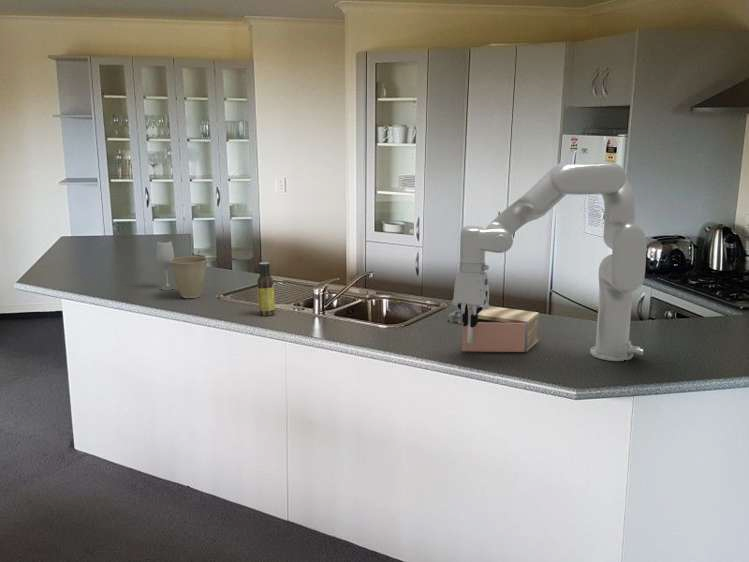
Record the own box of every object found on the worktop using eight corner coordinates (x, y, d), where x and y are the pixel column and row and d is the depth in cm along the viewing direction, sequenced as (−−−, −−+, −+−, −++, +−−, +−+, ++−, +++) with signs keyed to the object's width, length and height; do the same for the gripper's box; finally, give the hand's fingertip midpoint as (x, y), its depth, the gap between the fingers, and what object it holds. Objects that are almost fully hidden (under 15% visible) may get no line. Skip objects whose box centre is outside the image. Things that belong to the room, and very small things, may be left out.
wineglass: (155, 290, 305) (151, 242, 300) (163, 286, 312) (160, 240, 308) (171, 291, 304) (168, 243, 299) (179, 287, 311) (176, 240, 306)
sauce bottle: (278, 314, 266) (276, 262, 262) (265, 317, 262) (262, 265, 257) (268, 311, 271) (266, 260, 266) (255, 314, 266) (252, 262, 262)
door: (526, 351, 220) (528, 306, 217) (528, 355, 216) (530, 309, 213) (462, 349, 222) (462, 305, 219) (462, 354, 218) (463, 309, 214)
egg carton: (463, 316, 263) (463, 305, 262) (479, 319, 258) (480, 309, 257) (445, 321, 255) (445, 310, 254) (462, 325, 250) (462, 314, 249)
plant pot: (195, 302, 284) (193, 264, 280) (165, 299, 289) (162, 262, 286) (216, 294, 297) (214, 257, 294) (187, 291, 303) (184, 255, 299)
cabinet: (537, 341, 231) (538, 312, 228) (525, 352, 220) (527, 321, 218) (480, 333, 240) (481, 305, 238) (466, 342, 230) (467, 313, 228)
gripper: (501, 268, 211) (498, 326, 215) (453, 262, 219) (451, 319, 223) (491, 272, 205) (489, 332, 209) (442, 266, 213) (441, 325, 217)
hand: (469, 325), depth 216 cm, fingers closed on door
